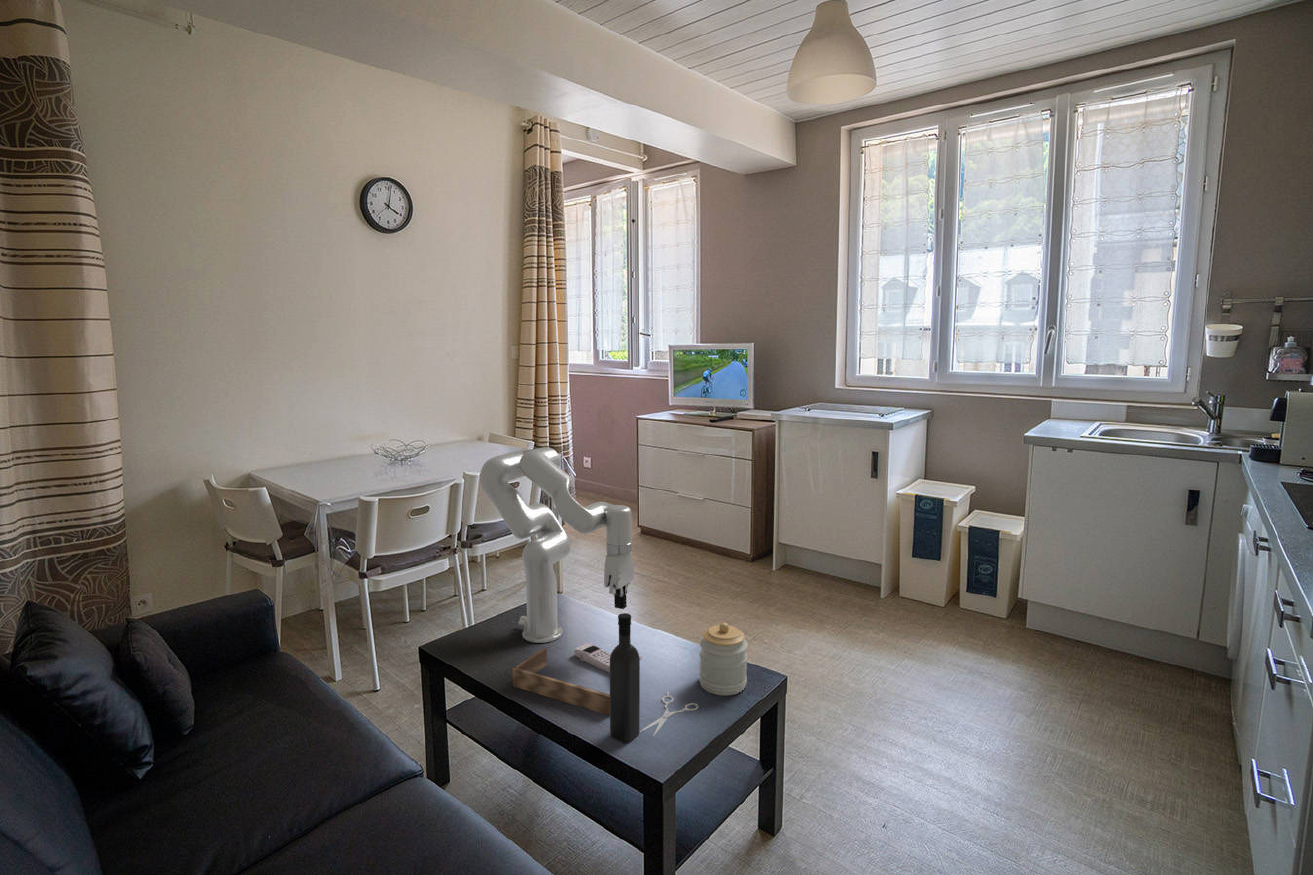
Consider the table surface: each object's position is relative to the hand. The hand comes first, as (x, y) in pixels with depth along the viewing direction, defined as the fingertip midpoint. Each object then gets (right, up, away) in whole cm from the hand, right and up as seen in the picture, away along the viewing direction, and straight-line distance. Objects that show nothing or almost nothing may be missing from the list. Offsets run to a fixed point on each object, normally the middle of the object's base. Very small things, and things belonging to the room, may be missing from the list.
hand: (620, 607), depth 199 cm
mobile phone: (-4, -16, -5) cm, 17 cm away
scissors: (+13, -20, -31) cm, 39 cm away
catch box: (-11, -17, -18) cm, 27 cm away
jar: (+29, -17, -16) cm, 37 cm away
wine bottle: (+3, -21, -39) cm, 45 cm away
